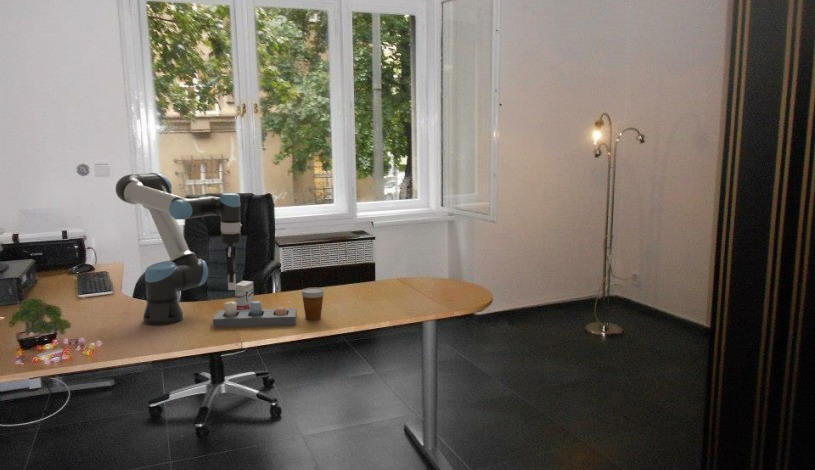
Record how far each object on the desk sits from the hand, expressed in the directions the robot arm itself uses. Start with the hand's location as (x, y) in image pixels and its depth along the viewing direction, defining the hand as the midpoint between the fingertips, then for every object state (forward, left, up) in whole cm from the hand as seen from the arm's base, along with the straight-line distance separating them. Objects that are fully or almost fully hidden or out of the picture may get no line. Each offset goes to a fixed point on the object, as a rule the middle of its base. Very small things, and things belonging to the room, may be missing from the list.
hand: (231, 289), depth 240 cm
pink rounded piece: (+19, -1, -14) cm, 24 cm away
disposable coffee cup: (+32, +2, -14) cm, 35 cm away
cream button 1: (-1, -1, -11) cm, 11 cm away
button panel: (+9, -1, -14) cm, 17 cm away
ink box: (+2, +18, -14) cm, 23 cm away
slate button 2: (+9, -1, -11) cm, 14 cm away
